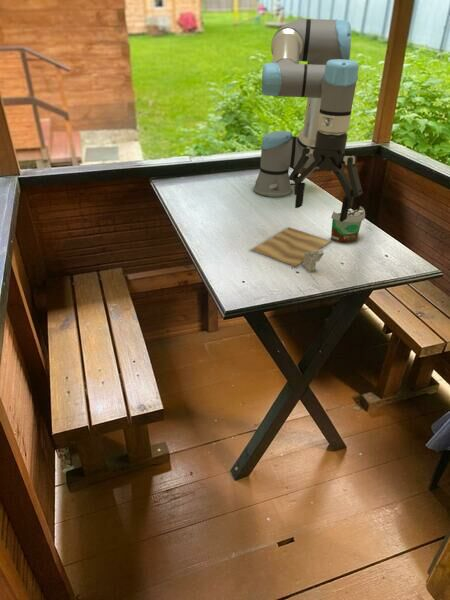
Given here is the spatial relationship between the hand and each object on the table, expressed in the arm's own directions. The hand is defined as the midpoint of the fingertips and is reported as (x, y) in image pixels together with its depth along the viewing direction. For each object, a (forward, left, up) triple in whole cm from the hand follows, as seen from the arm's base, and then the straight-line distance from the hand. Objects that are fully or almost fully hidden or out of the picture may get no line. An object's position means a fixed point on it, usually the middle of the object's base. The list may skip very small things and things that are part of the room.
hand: (320, 213), depth 120 cm
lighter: (-1, 0, -19) cm, 18 cm away
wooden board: (-10, -13, -18) cm, 25 cm away
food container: (-26, -1, -19) cm, 32 cm away
